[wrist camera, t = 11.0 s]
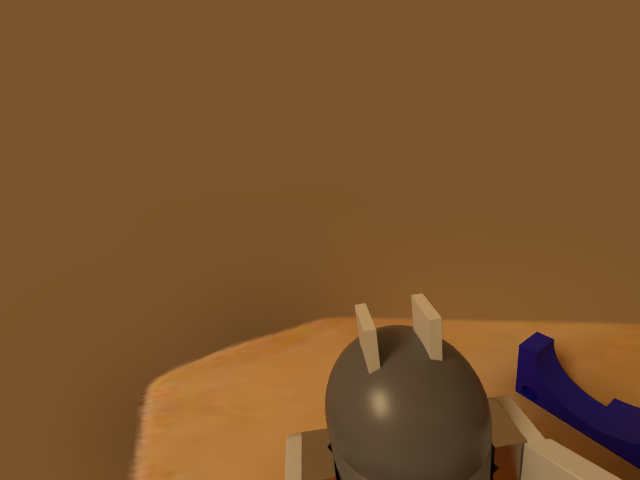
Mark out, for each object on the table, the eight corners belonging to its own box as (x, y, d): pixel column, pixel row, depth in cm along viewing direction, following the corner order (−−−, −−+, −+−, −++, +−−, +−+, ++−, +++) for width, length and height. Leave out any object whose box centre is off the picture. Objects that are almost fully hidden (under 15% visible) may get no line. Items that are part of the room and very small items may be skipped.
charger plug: (446, 498, 14) (442, 260, 10) (512, 658, 10) (552, 357, 6) (350, 516, 14) (305, 284, 10) (373, 686, 10) (311, 401, 6)
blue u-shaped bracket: (715, 466, 23) (741, 407, 21) (695, 506, 21) (720, 445, 19) (540, 371, 33) (545, 325, 31) (515, 392, 31) (519, 345, 29)
